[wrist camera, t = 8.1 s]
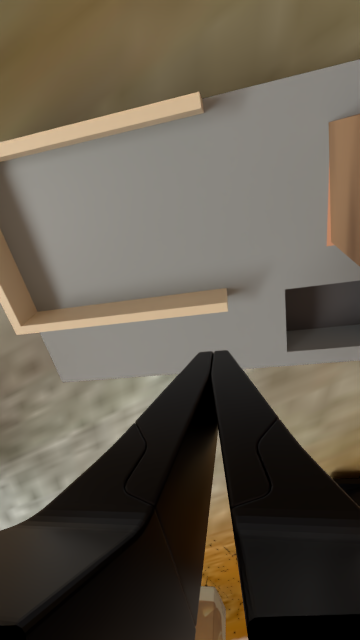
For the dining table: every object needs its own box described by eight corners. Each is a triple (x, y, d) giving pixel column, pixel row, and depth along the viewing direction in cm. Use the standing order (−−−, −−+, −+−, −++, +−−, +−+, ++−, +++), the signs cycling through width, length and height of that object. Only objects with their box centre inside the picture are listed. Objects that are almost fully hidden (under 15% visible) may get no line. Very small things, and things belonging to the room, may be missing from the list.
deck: (498, 34, 13) (614, -14, 9) (433, 329, 19) (484, 373, 15) (-8, 158, 17) (-72, 160, 14) (77, 360, 24) (49, 400, 20)
